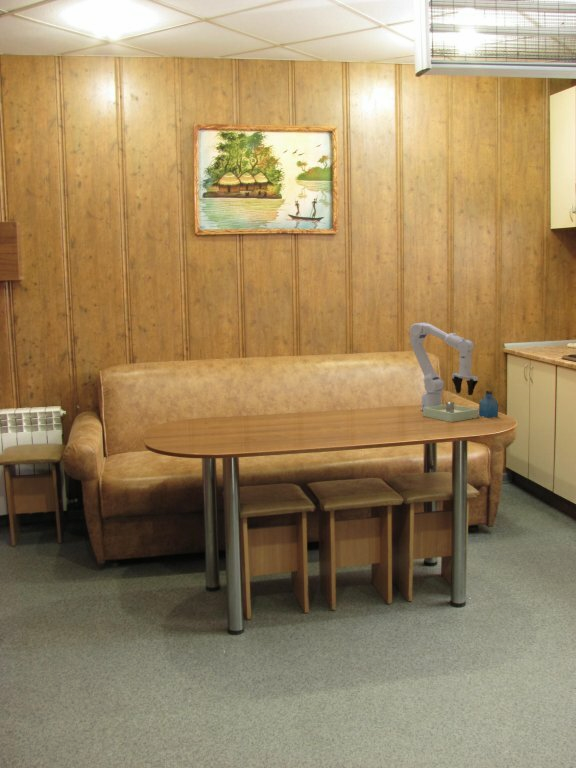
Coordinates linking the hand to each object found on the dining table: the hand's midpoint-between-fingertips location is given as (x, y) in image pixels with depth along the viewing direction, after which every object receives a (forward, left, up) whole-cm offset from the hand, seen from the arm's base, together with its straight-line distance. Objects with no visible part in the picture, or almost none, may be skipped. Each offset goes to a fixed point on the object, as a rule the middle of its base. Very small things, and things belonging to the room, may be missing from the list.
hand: (464, 393), depth 384 cm
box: (+1, -10, -10) cm, 14 cm away
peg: (+1, -11, -10) cm, 14 cm away
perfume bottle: (+10, +6, -10) cm, 15 cm away
